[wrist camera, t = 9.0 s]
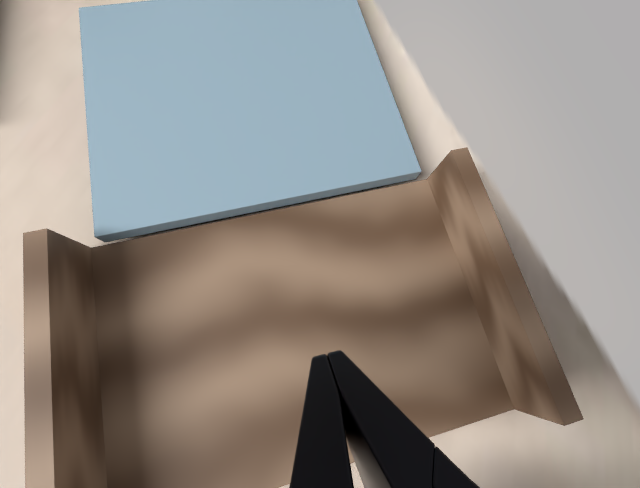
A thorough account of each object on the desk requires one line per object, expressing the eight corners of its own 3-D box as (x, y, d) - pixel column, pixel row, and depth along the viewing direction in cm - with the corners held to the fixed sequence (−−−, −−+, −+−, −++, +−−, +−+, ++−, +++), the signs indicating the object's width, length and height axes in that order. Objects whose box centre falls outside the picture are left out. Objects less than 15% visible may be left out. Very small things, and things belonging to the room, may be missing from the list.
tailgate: (421, 171, 24) (349, -20, 29) (94, 236, 20) (78, 7, 25) (415, 179, 25) (347, -7, 30) (105, 242, 21) (88, 22, 27)
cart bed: (519, 400, 22) (583, 418, 17) (98, 539, 18) (26, 614, 13) (435, 182, 26) (467, 147, 21) (81, 255, 22) (23, 233, 17)
